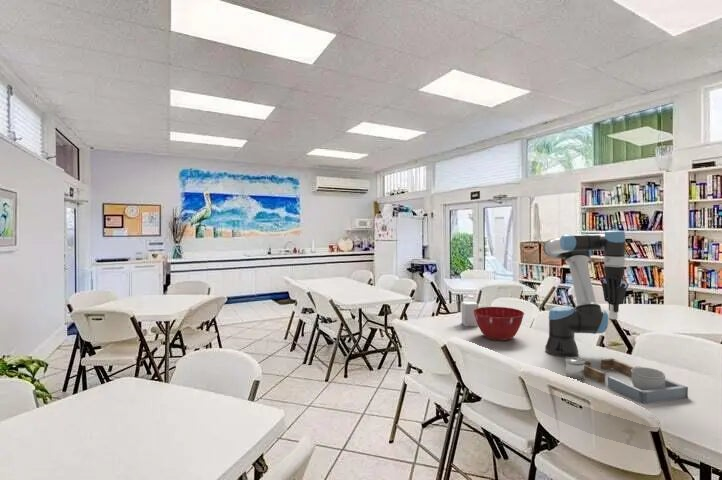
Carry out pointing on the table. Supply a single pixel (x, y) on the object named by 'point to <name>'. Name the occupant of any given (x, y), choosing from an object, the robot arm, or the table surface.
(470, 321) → the supplement box
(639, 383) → the teacup
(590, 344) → the table surface
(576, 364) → the sugar tin
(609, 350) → the table surface
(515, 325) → the mixing bowl
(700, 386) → the table surface
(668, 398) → the dock
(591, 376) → the wooden u-shaped bracket
